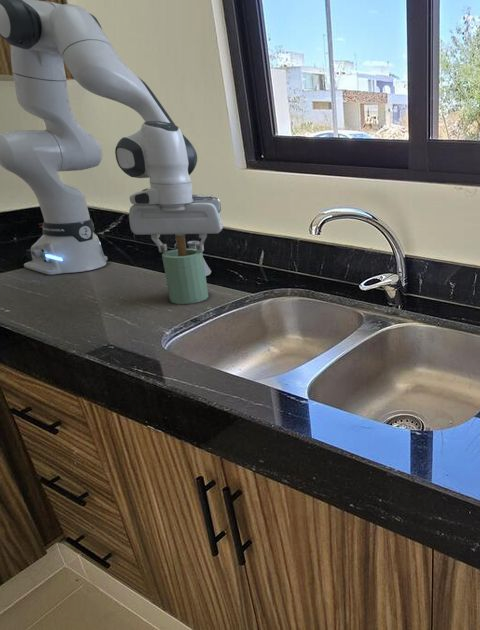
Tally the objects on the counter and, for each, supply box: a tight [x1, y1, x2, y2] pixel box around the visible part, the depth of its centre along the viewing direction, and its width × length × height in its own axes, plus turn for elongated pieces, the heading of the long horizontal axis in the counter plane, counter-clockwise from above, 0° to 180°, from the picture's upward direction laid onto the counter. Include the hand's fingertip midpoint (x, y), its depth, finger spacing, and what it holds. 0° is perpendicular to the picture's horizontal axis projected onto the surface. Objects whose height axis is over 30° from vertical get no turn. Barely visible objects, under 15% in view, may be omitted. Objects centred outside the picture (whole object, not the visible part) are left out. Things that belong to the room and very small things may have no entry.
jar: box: [161, 248, 209, 305], centre depth 120 cm, size 9×9×12 cm
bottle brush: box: [174, 234, 187, 256], centre depth 119 cm, size 4×4×16 cm
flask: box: [186, 240, 212, 277], centre depth 139 cm, size 7×7×10 cm
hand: (182, 251), depth 118 cm, fingers open, 7 cm apart
